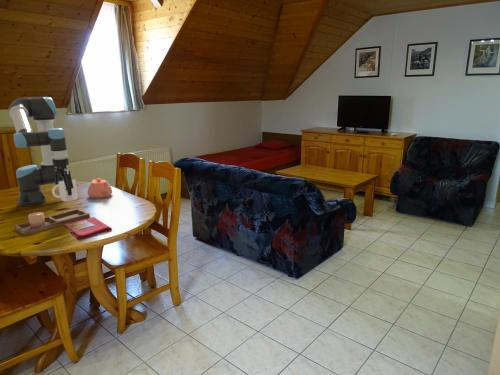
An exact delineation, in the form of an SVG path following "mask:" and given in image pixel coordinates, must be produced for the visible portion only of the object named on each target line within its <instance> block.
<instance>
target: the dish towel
mask: <svg viewBox="0 0 500 375" xmlns="http://www.w3.org/2000/svg"><path fill="white" fill-rule="evenodd" d="M82 222H88V223H89V224H92V225H90V226H87V227H84V228H81V229H78V230H77V229H75V228H74V227H73V226H72V225H73V224H78V223H82ZM63 226H65V227H67V228H68V229H69V230H70V231H71V232H70V234H71V235H72V236H74V237H75V238H76V239H78V240H82V239H85V238H89V237H93V236H97V235H99V234H100V235H101V234H105V233H107V232H111V231H112V229H113V228H112V227H110V226H109V225H107V224H105V223H104V222H103V221H101V220H99V219H98V218H96V217H95V216H92V217H90V218H88V219H84V220H83V219H81V220H78V221H74V222H71V223H64V225H63Z"/></svg>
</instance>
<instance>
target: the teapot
mask: <svg viewBox="0 0 500 375" xmlns="http://www.w3.org/2000/svg"><path fill="white" fill-rule="evenodd" d="M112 193H113V188H112V186H111V185H110V183H109V182H108V181H107V180H105V179H102V178H100V177H99V178H96V179H94V178H93V179H91V182H90V183H89V186H88V188H87V195H88V197H90V199H97V200H98V199H103V198H104V199H105V198H109V197H110V196H111V195H112Z"/></svg>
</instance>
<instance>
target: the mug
mask: <svg viewBox="0 0 500 375" xmlns="http://www.w3.org/2000/svg"><path fill="white" fill-rule="evenodd" d="M71 179H72V178H71ZM58 183H59V184H58V185H56V184H55V185H53V187H52V189H51V193H52V196H53V197H55V198H57V199H58V198H59V199H60V200H61V201H62V202H68V201H67V196H66V190H65V189H66V186H65V183H64V180H63V181H59V182H58ZM72 183H73V188H72V189H71V190H72V197H73V201H76V200H77V199H78V196H79V195H78V187H77V182H76V179H72ZM58 187H59V189H60V195H59V194H56V192H55V191H56V189H58Z"/></svg>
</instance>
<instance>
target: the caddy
mask: <svg viewBox="0 0 500 375" xmlns="http://www.w3.org/2000/svg"><path fill="white" fill-rule="evenodd" d="M44 218H45V223H46V225H44V226H41V227H37V228H34V229H30V223H29V221H27V222H22V223H17V224H14V229H15V231H17V232H19V233H20V234H22V235H23V236H28V235H32V234H35V233H39V232H43V231H46V230H49V229H54V228H56V227H60V226H65V225H64V223H72V222H76V221H80V220H84V219H88V218H91V216H90V213H89V212H88V211H84V210H82V209H80V208H75V209H71V210H67V211H64V212H60V213H56V214H52V215H49V216H48V215H47V216H44Z"/></svg>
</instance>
